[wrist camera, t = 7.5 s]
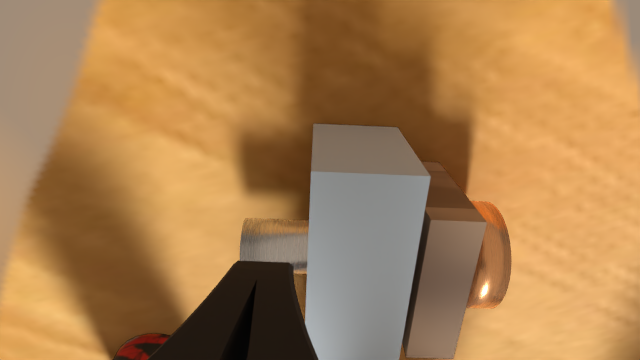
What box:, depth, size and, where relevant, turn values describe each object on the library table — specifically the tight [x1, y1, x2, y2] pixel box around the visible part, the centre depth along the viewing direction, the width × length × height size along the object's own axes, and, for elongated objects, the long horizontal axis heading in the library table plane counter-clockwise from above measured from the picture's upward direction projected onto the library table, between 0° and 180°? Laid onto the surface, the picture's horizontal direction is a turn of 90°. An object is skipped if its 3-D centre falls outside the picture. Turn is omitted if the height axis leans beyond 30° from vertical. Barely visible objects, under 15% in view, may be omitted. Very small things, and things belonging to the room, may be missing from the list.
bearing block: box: [305, 124, 431, 360], centre depth 18 cm, size 10×4×6 cm, turn 177°
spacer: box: [402, 162, 487, 359], centre depth 18 cm, size 7×2×6 cm, turn 177°
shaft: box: [240, 201, 511, 308], centre depth 18 cm, size 11×5×5 cm, turn 87°
